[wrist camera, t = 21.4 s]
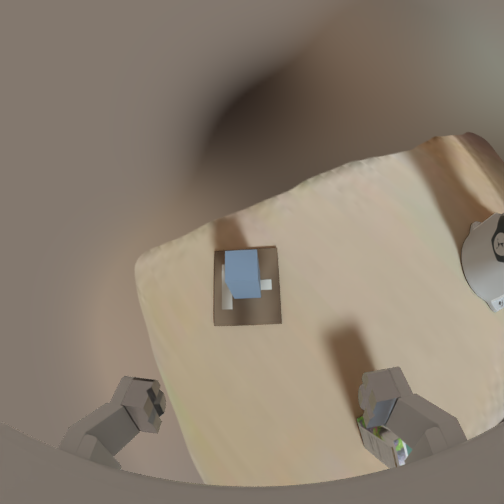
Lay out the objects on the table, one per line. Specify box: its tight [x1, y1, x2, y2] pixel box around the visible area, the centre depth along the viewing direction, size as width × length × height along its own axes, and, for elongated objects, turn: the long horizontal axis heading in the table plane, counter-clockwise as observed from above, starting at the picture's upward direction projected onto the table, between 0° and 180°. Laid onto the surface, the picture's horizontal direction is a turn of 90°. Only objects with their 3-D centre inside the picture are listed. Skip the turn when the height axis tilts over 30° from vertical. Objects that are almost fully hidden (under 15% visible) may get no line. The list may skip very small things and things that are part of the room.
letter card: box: [214, 248, 282, 326], centre depth 44 cm, size 10×12×1 cm
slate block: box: [225, 249, 261, 299], centre depth 39 cm, size 4×4×9 cm
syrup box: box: [357, 416, 412, 469], centre depth 27 cm, size 6×6×14 cm
